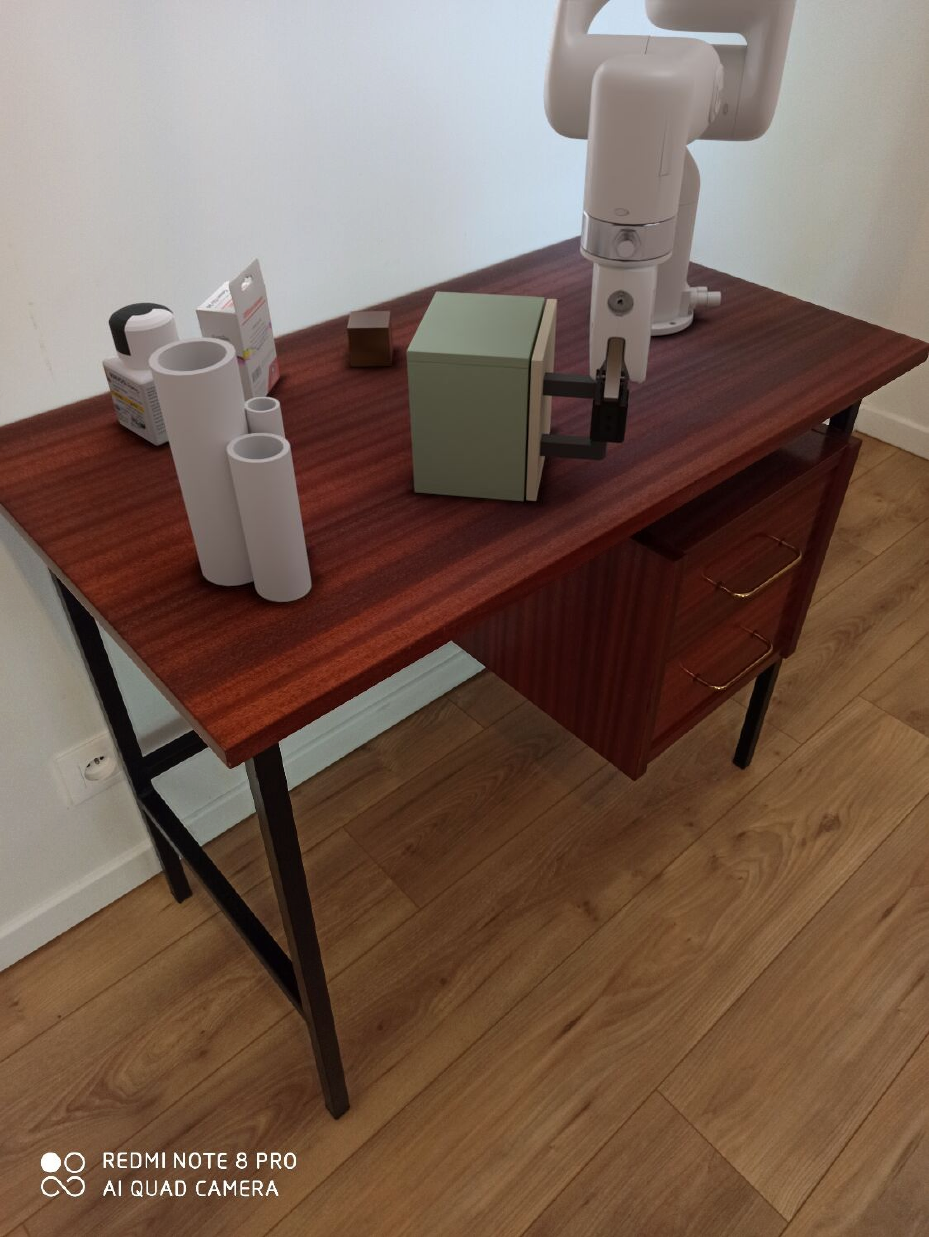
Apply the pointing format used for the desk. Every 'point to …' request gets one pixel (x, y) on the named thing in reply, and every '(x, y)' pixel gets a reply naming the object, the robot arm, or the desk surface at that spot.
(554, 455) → the cupboard door
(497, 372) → the cupboard
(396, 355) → the desk surface
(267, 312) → the ink cartridge box
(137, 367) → the container
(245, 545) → the vase
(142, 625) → the desk surface
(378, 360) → the block
